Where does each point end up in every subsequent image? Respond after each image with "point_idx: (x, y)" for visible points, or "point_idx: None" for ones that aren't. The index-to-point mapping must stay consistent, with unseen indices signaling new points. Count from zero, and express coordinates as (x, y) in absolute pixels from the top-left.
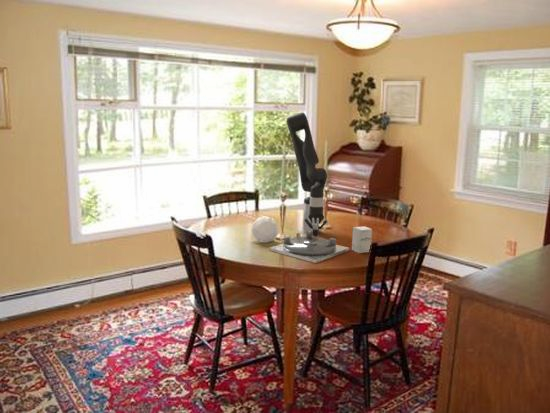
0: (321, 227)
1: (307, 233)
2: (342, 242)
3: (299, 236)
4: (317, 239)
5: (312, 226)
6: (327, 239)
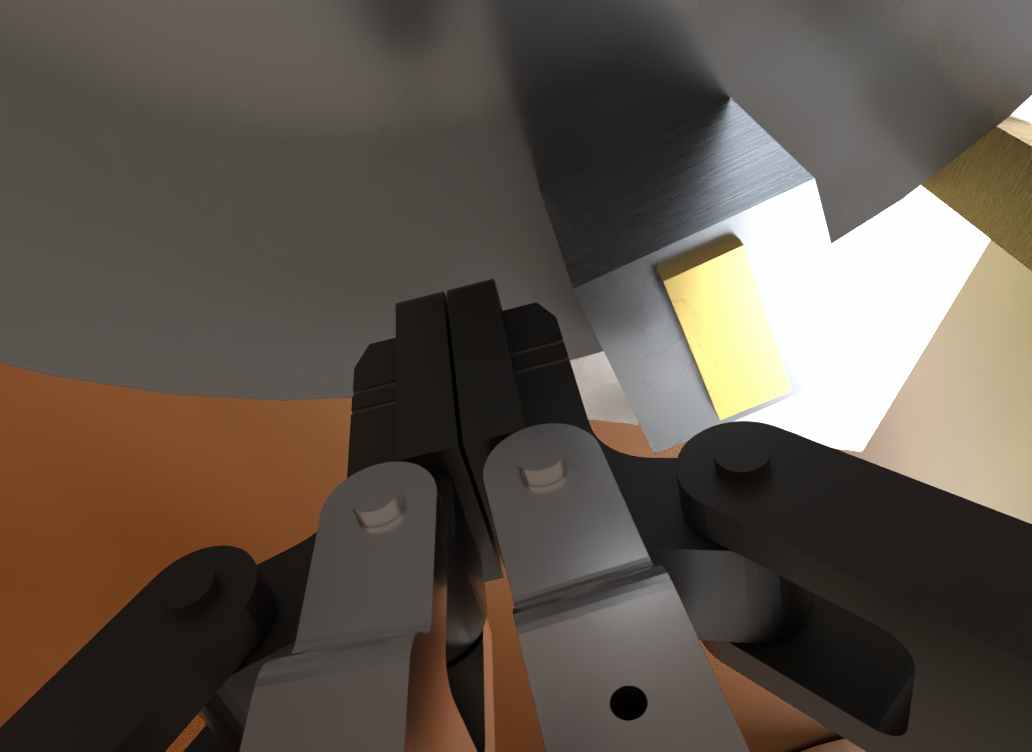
0: (119, 646)
1: (767, 182)
2: (55, 644)
3: (1011, 188)
4: (296, 162)
5: (674, 560)
6: (25, 356)
